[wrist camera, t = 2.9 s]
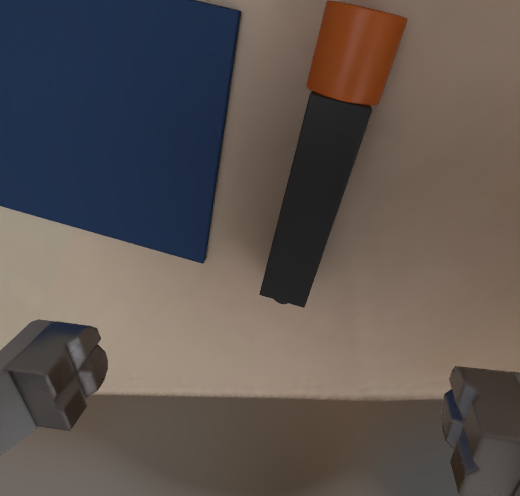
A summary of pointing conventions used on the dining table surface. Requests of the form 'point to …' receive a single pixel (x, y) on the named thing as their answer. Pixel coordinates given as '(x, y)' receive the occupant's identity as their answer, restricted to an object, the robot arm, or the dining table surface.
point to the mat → (116, 115)
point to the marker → (329, 140)
